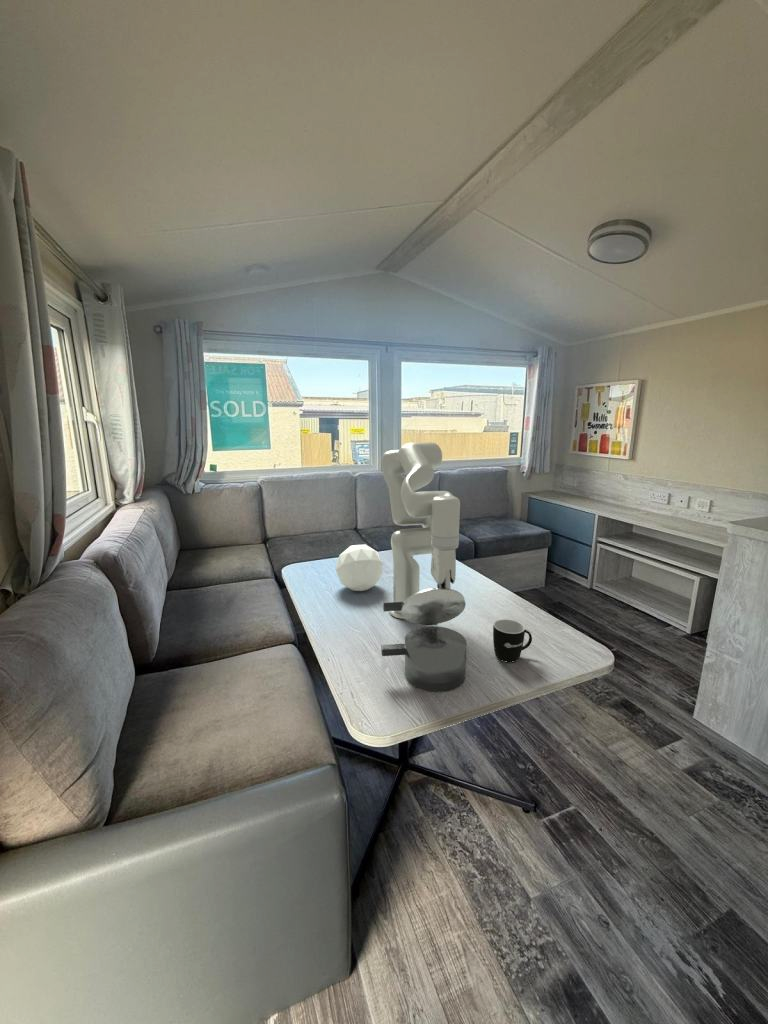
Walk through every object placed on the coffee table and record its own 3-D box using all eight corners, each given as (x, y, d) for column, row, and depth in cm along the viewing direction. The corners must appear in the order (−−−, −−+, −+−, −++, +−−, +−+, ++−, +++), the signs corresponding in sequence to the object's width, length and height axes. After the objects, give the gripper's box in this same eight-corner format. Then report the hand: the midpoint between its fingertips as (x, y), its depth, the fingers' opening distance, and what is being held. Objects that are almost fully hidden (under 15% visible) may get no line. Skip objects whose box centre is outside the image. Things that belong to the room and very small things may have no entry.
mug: (499, 666, 122) (501, 634, 120) (486, 650, 131) (488, 620, 128) (537, 662, 124) (540, 631, 122) (523, 647, 133) (525, 617, 130)
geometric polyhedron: (355, 608, 175) (331, 580, 163) (346, 576, 191) (324, 548, 179) (395, 586, 174) (374, 556, 162) (383, 556, 190) (363, 526, 178)
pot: (378, 659, 126) (378, 628, 123) (456, 655, 128) (457, 624, 126) (384, 696, 109) (384, 661, 107) (473, 690, 112) (475, 655, 109)
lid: (381, 628, 124) (381, 620, 126) (458, 624, 126) (456, 617, 128) (385, 594, 110) (385, 586, 112) (471, 590, 113) (469, 582, 114)
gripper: (425, 534, 123) (424, 593, 127) (437, 549, 108) (435, 615, 112) (451, 533, 124) (449, 591, 128) (466, 548, 109) (463, 614, 113)
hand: (442, 602), depth 120 cm, fingers closed
